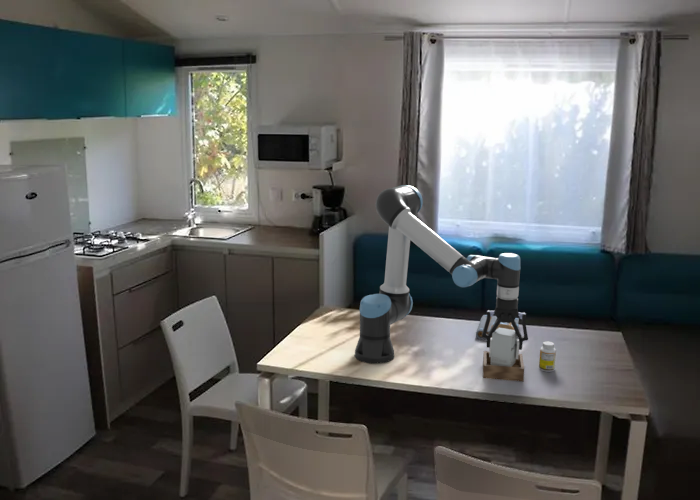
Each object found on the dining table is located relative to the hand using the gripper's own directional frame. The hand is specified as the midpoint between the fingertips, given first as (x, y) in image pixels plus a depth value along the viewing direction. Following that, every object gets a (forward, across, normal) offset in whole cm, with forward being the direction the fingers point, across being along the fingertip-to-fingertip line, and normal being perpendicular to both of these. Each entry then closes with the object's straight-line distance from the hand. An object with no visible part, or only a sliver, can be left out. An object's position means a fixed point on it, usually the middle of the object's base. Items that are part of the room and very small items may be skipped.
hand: (503, 356), depth 240 cm
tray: (+6, 0, 0) cm, 6 cm away
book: (+7, -1, +43) cm, 43 cm away
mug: (+6, 0, +18) cm, 19 cm away
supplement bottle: (+6, +16, +6) cm, 18 cm away
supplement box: (+3, 0, 0) cm, 3 cm away
